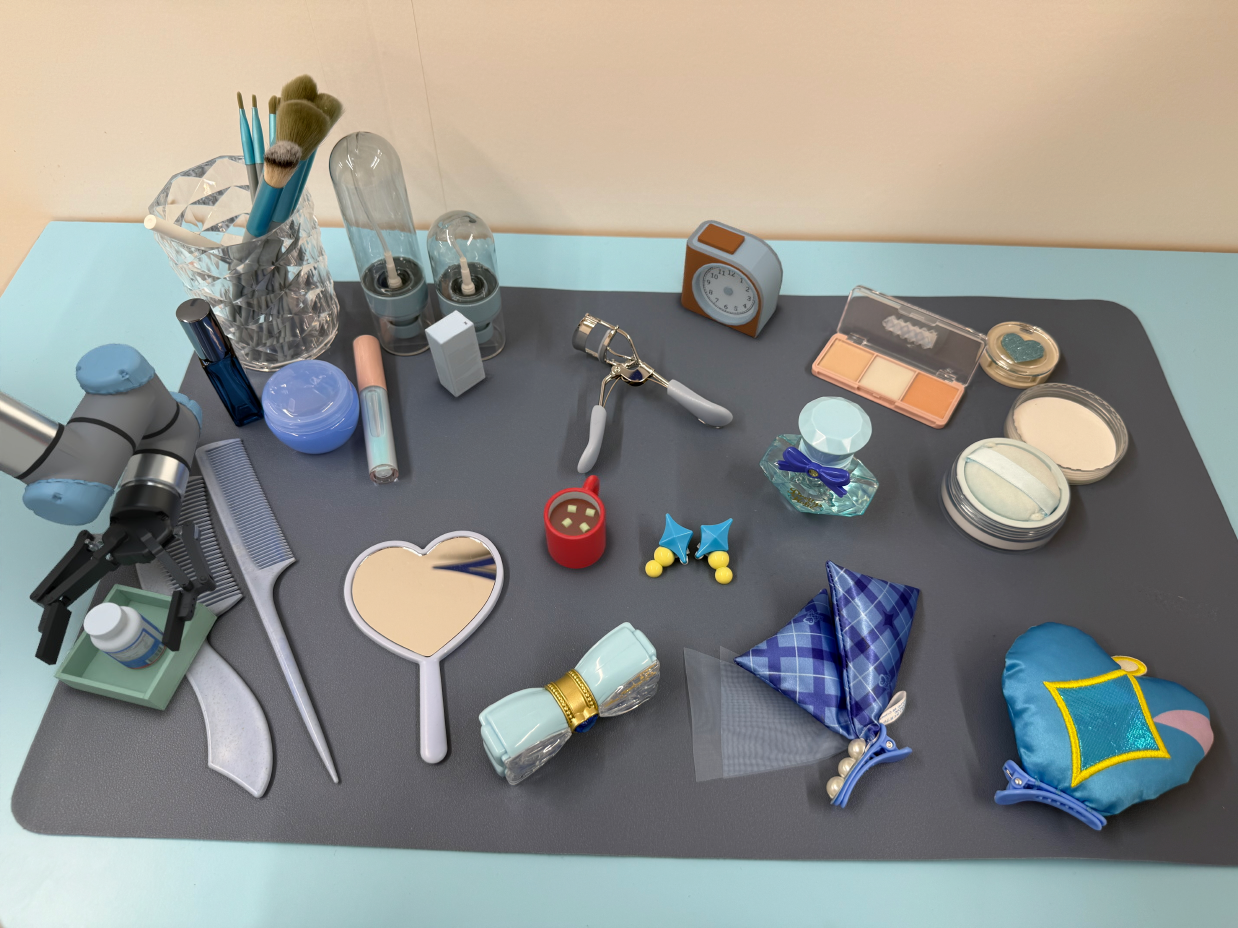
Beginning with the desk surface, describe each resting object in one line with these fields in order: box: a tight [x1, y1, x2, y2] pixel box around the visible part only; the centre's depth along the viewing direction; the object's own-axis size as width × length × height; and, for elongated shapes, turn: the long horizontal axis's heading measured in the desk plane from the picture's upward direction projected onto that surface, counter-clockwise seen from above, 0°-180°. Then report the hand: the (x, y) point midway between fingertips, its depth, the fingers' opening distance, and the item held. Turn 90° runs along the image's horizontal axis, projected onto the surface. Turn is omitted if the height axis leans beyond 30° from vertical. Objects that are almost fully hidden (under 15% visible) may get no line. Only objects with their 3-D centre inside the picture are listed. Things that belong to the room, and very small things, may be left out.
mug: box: [543, 474, 606, 570], centre depth 102 cm, size 8×12×8 cm, turn 164°
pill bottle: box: [83, 602, 166, 669], centre depth 91 cm, size 6×5×10 cm
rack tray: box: [53, 583, 218, 712], centre depth 94 cm, size 12×12×4 cm
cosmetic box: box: [424, 309, 486, 398], centre depth 116 cm, size 6×4×12 cm
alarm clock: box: [680, 219, 784, 339], centre depth 125 cm, size 15×8×14 cm, turn 58°
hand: (108, 654), depth 87 cm, fingers open, 13 cm apart
